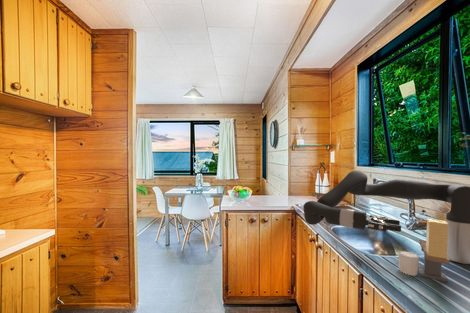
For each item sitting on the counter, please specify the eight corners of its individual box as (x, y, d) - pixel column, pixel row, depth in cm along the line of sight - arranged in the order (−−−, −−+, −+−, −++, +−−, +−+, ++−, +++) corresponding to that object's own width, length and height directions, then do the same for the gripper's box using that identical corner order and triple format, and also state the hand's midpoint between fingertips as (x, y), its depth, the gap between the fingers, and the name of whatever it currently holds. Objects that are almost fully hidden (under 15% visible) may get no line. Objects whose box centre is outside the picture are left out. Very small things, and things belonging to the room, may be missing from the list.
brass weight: (446, 259, 82) (448, 223, 82) (428, 255, 85) (429, 221, 85) (443, 254, 87) (444, 220, 87) (425, 251, 89) (427, 218, 89)
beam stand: (447, 281, 88) (448, 258, 88) (419, 275, 92) (420, 253, 92) (444, 276, 92) (445, 254, 92) (418, 270, 96) (418, 249, 96)
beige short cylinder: (394, 266, 99) (395, 249, 99) (414, 269, 97) (415, 252, 97) (401, 274, 92) (401, 256, 92) (422, 277, 90) (423, 258, 90)
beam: (451, 265, 82) (451, 260, 82) (425, 260, 85) (425, 255, 85) (439, 246, 99) (439, 242, 99) (418, 243, 102) (418, 239, 102)
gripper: (354, 224, 106) (398, 231, 98) (350, 232, 94) (401, 241, 86) (354, 207, 106) (399, 212, 98) (351, 212, 94) (401, 220, 86)
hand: (400, 226), depth 92 cm, fingers open, 8 cm apart
